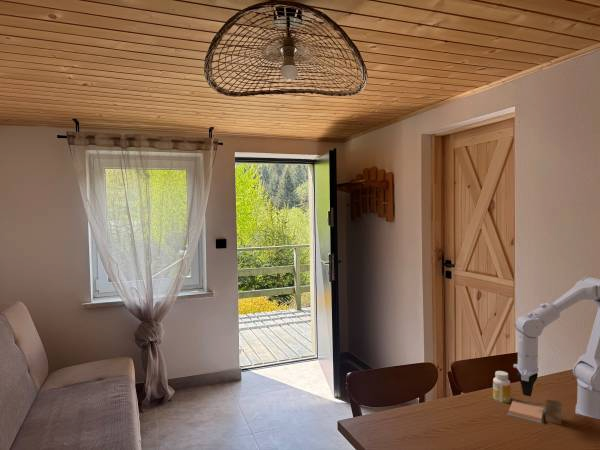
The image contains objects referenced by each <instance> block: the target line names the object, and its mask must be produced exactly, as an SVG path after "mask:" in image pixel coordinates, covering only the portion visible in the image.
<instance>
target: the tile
mask: <svg viewBox="0 0 600 450" xmlns="http://www.w3.org/2000/svg"><path fill="white" fill-rule="evenodd" d="M511 403H512V404H511ZM511 403H510V405H511V406H510V405H509V408H510V409H509V408H508V411H509V415H512V416H516V417H520V418H524V419H528V420H532V421H536V422H540V423H542V418H543V413H544V408H542V407H538V406H533V405H529V404H525V403H521V402H516V401H512V400H511ZM512 416H511V417H512ZM516 417H515V418H516ZM520 418H519V419H520ZM524 419H523V420H524ZM528 420H527V421H528ZM532 421H531V422H532ZM536 422H535V423H536ZM540 423H539V424H540Z"/></svg>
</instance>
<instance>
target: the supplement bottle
mask: <svg viewBox="0 0 600 450" xmlns="http://www.w3.org/2000/svg"><path fill="white" fill-rule="evenodd" d="M494 376H495V377H493V379H492V381H493V382H492V398H493V400H495V401H497V402H500V403H510V402H511V381H510V380H509V373H508V372H507V371H503V370H497V371H495V373H494Z"/></svg>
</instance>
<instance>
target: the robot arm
mask: <svg viewBox="0 0 600 450" xmlns="http://www.w3.org/2000/svg"><path fill="white" fill-rule="evenodd" d="M582 300H587V301H588V300H589V301H592V302H593V303H594V305H596V307H597V312H596V315H595V319H594V322H593V326H592V330H591V332H590V335H589V341H588V343H587V348H586V351H585V353H583V354H582V355H580V356H578V360H577V361H576V362H575V364H574V365H573V367H572V373H573V376H574V377H575V378H576V382H577V387H576V388H577V393H576V397H577V399H576V401H577V402H576V404H575V412H574V413H575V414H576V415H581V416H585V417H589V418H594V419H596V420H597V419H598V420H600V278H596V277H594V276H591V275H590V276H585V277H583V278H581V280H578V281H576V283H575V285H574V286H573V287H571V289H569V290H568V291H566V292H565V293H563V295H561V296H560V297H559V298H557V299H556V300H555V301H553V302H552V303H551V302H550V303H549V302H545V303H540V304H539V307H537V308H536V309H533V311H531V312H528V313H526V315H520V316H519V317H517V319H516V322H514V324H513V326H514V328H515V329H516V331H517V363H514V364H513V368H515V369H517V373H516V375H517V378H518V380H519V383H520V386H521V392H522V395H523V396H527V397H532V394H533V388H534V385H535V382H536V381H537V379H538V376H539V375H538V373H539V368H538V367H539V365H538V364H539V362H538V361H539V337H540V336H541V335H542V333H543V330H544V329H545V328H546V327H548V326H549V325H550V324H552V323H554V322H555V321H557V320H558V319H559V318H561V317H560V316H561V312H564V311H565V310H567V309H568V308H570V307H571V306H573V305H575V304H578V303H579V302H581V301H582Z"/></svg>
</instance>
